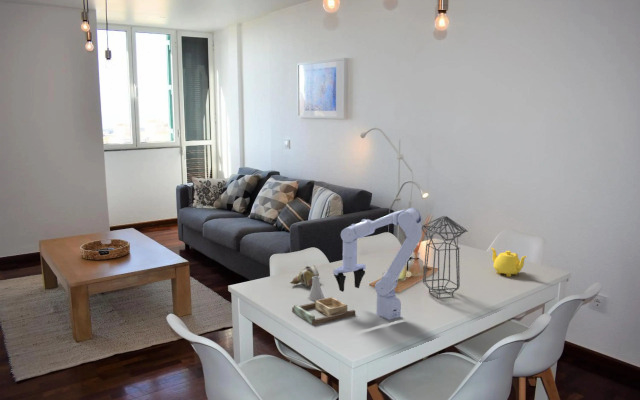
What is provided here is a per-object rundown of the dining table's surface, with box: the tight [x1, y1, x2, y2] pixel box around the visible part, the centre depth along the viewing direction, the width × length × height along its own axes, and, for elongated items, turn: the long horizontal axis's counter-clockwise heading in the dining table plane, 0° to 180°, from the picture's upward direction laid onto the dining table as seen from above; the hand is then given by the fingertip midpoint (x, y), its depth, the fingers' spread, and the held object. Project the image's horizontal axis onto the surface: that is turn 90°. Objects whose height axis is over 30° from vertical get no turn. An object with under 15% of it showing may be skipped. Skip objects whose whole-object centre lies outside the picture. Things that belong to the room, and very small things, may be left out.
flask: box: [307, 276, 325, 302], centre depth 225 cm, size 7×7×10 cm
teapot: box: [490, 247, 528, 278], centre depth 264 cm, size 20×15×12 cm
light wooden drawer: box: [314, 296, 348, 317], centre depth 211 cm, size 11×8×4 cm
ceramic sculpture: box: [289, 264, 320, 288], centre depth 246 cm, size 11×9×15 cm
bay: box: [291, 301, 356, 326], centre depth 209 cm, size 16×19×4 cm
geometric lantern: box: [421, 215, 469, 299], centre depth 231 cm, size 16×16×35 cm
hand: (349, 289), depth 215 cm, fingers open, 7 cm apart
